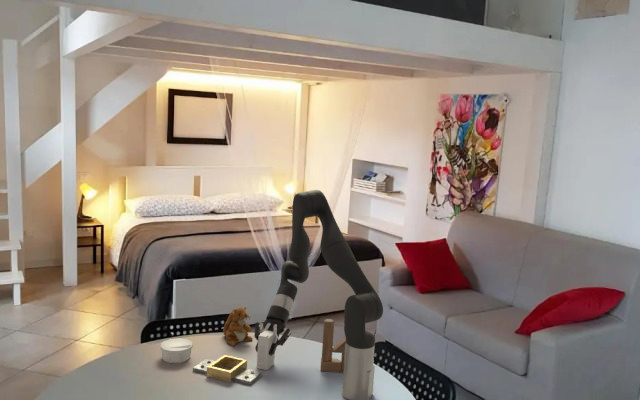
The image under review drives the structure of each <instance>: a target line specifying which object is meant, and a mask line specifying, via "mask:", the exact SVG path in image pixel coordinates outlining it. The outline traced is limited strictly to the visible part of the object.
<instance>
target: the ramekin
mask: <svg viewBox="0 0 640 400" xmlns="http://www.w3.org/2000/svg"><path fill="white" fill-rule="evenodd" d="M193 344H194V343H193V342H192V341H191V340H189V339H186V338H180V337H178V338H177V337H176V338H170V339H165V340H164V341H162V342H161V343H160V346H159V347H160V350H161V352H160V353H161V358H162V360H163V361H165V362H166V363H170V364H181V363H185V362H186V361H188V360H189V359H190V358H191V354H192V349H193Z"/></svg>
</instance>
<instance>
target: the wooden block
mask: <svg viewBox="0 0 640 400" xmlns="http://www.w3.org/2000/svg"><path fill="white" fill-rule="evenodd" d="M334 329H335V320H334V319H333V318H332V319H331V318H325V319H324V320H323V331H322V332H323V333H322V334H323V335H322V349H321V351H322V352H321V358H320V372H330V373H331V372H332V373H333V372H334V373H342V374H343V373H344V358H345V343H346V337H345V336H344V338H342V339H341V340H340V341H339V342H337V344H335V345H334V333H335V331H334ZM333 345H334V346H333ZM333 353H335V354H336V353H337V354H341V358H340V359H341V360H340V359H339V358H336V357H335V358H333Z"/></svg>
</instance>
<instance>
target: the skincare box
mask: <svg viewBox="0 0 640 400" xmlns="http://www.w3.org/2000/svg"><path fill="white" fill-rule="evenodd" d="M274 335H275V332H273V331H268V330H267V331H264V332H263V333H262V332H260V335H259V336H258V341H257V342H258V352H256V354H257V355H256V356H257V357H256V368H257V369H260V370H264V371H267V370H269V369H270V368H271V367H272V366H273V365H275V357H276V356H275V355H276V352H275V353H274V354H272V356H270V355H269V350H270V348H271V345H272V343H273V339H274Z"/></svg>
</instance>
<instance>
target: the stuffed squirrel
mask: <svg viewBox="0 0 640 400" xmlns="http://www.w3.org/2000/svg"><path fill="white" fill-rule="evenodd" d="M246 310H247V307H245V306H244V307H237V308H231V311H230V313H229V315H228V317H227V319H226V321H225V323H224V325H223V329H222V331H223V335H224V336H225V338H226V340H225V341H226V343H227V344H228V345H230V346H233V347H234V346H236V345H237V343H240V342H252V341H253V337H252V336H251V335H249V333H251V332H252V327H251V326H250V325H249V323H247V322H246V321H247V320H250V319H251V316H250V315H248V313H247V312H246Z"/></svg>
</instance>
